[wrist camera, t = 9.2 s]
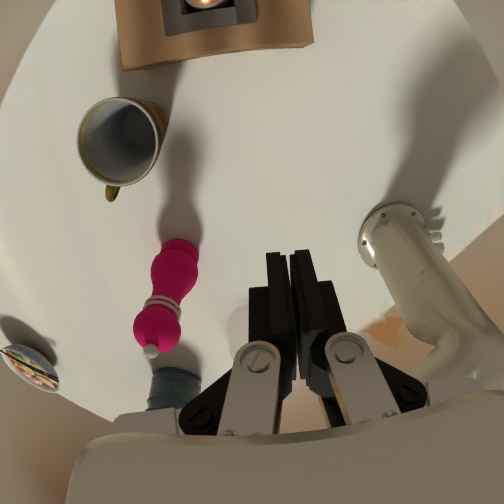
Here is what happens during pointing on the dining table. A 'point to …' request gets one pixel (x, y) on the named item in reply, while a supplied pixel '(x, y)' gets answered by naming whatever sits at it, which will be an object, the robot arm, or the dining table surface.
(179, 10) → the socket block
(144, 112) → the ceramic cup
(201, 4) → the peg
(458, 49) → the dining table surface
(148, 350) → the pepper mill
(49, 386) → the ramen bowl
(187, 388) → the canister
